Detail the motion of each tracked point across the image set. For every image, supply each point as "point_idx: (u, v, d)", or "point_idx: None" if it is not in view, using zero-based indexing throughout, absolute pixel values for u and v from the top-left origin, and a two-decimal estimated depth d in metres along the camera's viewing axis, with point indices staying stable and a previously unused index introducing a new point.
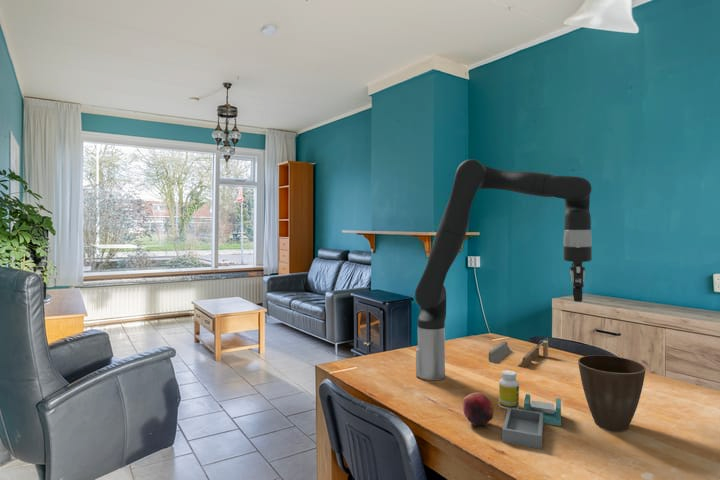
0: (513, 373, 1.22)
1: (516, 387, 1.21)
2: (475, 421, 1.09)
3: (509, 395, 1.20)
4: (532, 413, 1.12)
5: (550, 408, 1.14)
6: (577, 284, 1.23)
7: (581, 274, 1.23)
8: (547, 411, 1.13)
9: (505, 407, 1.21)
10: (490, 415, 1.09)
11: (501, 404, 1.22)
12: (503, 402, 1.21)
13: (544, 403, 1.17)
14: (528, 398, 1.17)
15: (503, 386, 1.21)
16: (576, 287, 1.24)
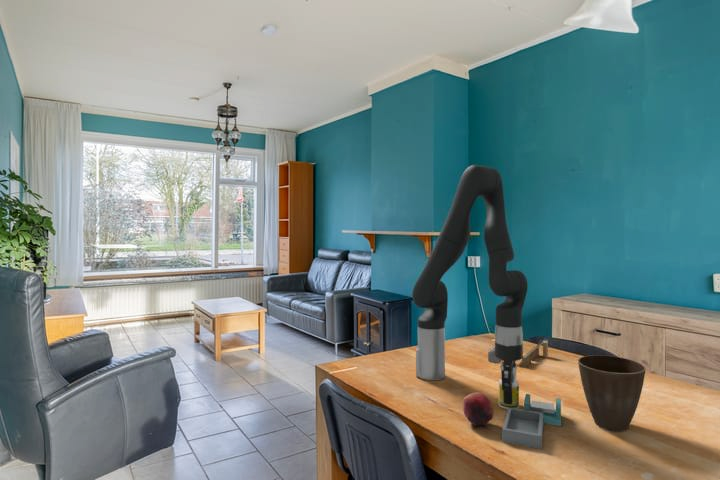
0: None
1: (516, 387, 1.21)
2: (475, 421, 1.09)
3: None
4: (532, 413, 1.12)
5: (550, 408, 1.14)
6: (505, 388, 1.18)
7: (509, 379, 1.17)
8: (547, 411, 1.13)
9: (505, 407, 1.21)
10: (490, 415, 1.09)
11: (501, 404, 1.22)
12: (503, 402, 1.21)
13: (544, 403, 1.17)
14: (528, 398, 1.17)
15: None
16: (505, 390, 1.19)
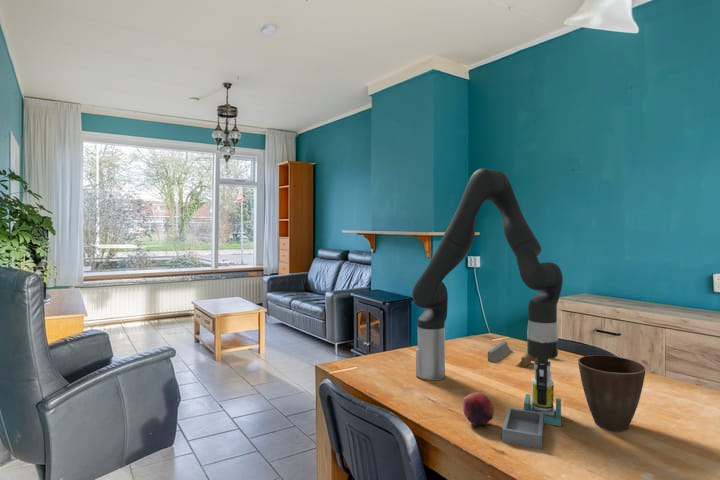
0: None
1: (551, 387, 1.13)
2: (475, 421, 1.09)
3: None
4: (532, 413, 1.12)
5: (550, 410, 1.14)
6: (540, 388, 1.10)
7: (544, 378, 1.09)
8: (547, 413, 1.13)
9: (539, 408, 1.14)
10: (490, 415, 1.09)
11: (534, 405, 1.15)
12: (537, 403, 1.14)
13: None
14: (528, 398, 1.17)
15: None
16: (539, 390, 1.11)
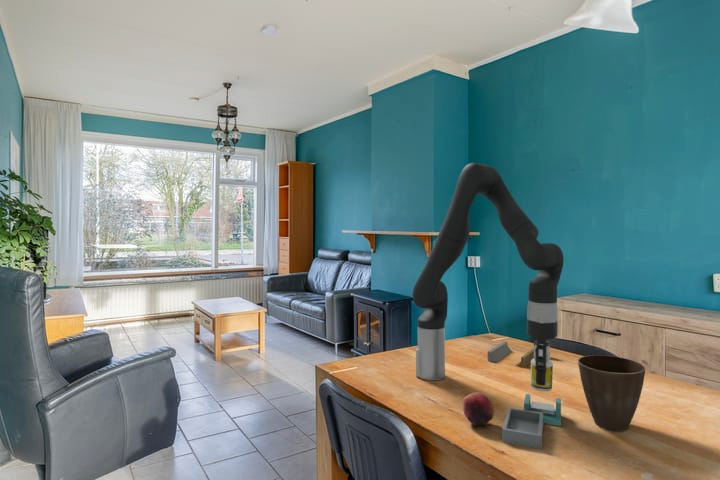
0: None
1: (550, 367, 1.13)
2: (475, 421, 1.09)
3: None
4: (532, 413, 1.12)
5: (550, 409, 1.14)
6: (539, 368, 1.10)
7: (544, 358, 1.09)
8: (547, 412, 1.13)
9: (538, 388, 1.14)
10: (490, 415, 1.09)
11: (533, 385, 1.15)
12: (535, 383, 1.14)
13: (544, 404, 1.17)
14: (528, 398, 1.17)
15: None
16: (538, 370, 1.11)
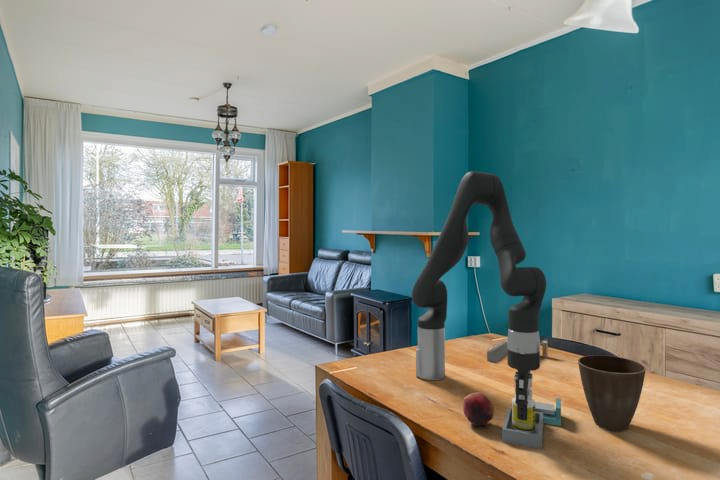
0: None
1: (532, 407, 1.05)
2: (475, 421, 1.09)
3: None
4: None
5: (550, 409, 1.14)
6: (520, 401, 1.01)
7: (524, 390, 1.01)
8: (547, 412, 1.13)
9: (520, 430, 1.05)
10: (490, 415, 1.09)
11: (514, 427, 1.07)
12: (517, 425, 1.06)
13: (544, 404, 1.17)
14: None
15: None
16: (519, 404, 1.02)
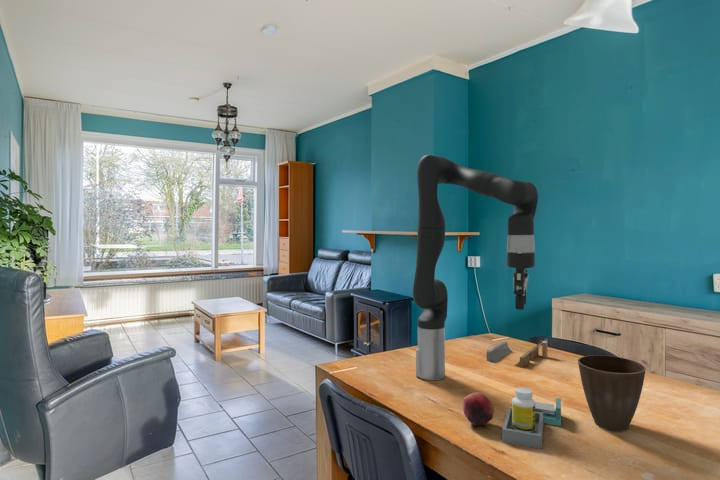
0: (529, 391, 1.07)
1: (532, 407, 1.05)
2: (475, 421, 1.09)
3: (524, 417, 1.05)
4: None
5: (550, 409, 1.14)
6: (518, 291, 1.18)
7: (521, 281, 1.18)
8: (547, 412, 1.13)
9: (520, 430, 1.05)
10: (490, 415, 1.09)
11: (514, 427, 1.07)
12: (517, 425, 1.06)
13: (544, 404, 1.17)
14: None
15: (517, 406, 1.06)
16: (517, 295, 1.19)
